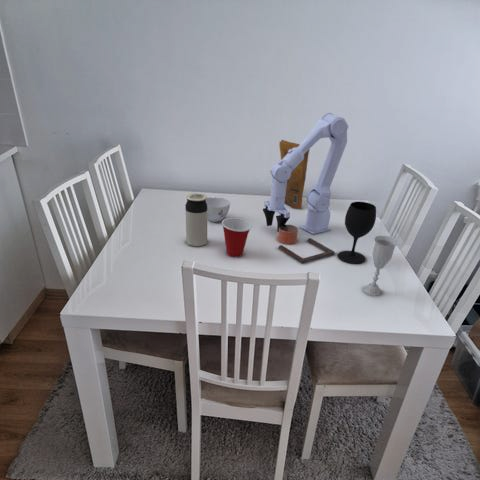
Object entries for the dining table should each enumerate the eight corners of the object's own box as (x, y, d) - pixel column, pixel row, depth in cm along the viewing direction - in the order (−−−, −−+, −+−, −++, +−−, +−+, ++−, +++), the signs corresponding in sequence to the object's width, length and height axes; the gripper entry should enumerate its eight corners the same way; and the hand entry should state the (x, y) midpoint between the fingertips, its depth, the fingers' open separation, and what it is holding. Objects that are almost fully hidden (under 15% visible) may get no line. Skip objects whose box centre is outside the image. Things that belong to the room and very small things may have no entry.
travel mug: (211, 242, 161) (212, 196, 150) (196, 248, 156) (195, 201, 145) (197, 236, 165) (197, 191, 154) (182, 242, 160) (180, 195, 150)
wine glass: (366, 254, 159) (379, 203, 148) (364, 266, 151) (377, 213, 139) (339, 249, 162) (349, 198, 150) (335, 260, 153) (346, 208, 142)
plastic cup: (247, 262, 149) (249, 230, 142) (217, 258, 150) (218, 226, 143) (252, 249, 158) (254, 219, 151) (224, 245, 159) (225, 215, 152)
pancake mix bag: (295, 211, 193) (303, 147, 177) (272, 198, 206) (278, 138, 190) (307, 209, 196) (316, 146, 180) (283, 196, 209) (290, 137, 193)
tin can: (288, 235, 171) (290, 223, 168) (300, 242, 166) (302, 229, 163) (274, 238, 167) (275, 226, 164) (285, 245, 162) (287, 233, 159)
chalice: (358, 285, 139) (371, 235, 129) (378, 285, 140) (392, 235, 130) (365, 297, 133) (379, 245, 123) (386, 297, 134) (401, 246, 124)
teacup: (235, 221, 179) (236, 203, 175) (211, 227, 173) (211, 208, 168) (215, 210, 189) (216, 193, 184) (192, 215, 182) (191, 197, 178)
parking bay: (309, 240, 167) (310, 237, 166) (334, 254, 158) (334, 251, 157) (278, 248, 159) (278, 245, 159) (302, 263, 150) (302, 260, 149)
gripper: (258, 191, 166) (256, 224, 174) (281, 203, 157) (277, 237, 164) (273, 189, 170) (270, 221, 177) (295, 200, 160) (291, 233, 168)
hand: (274, 228), depth 171 cm, fingers open, 7 cm apart
